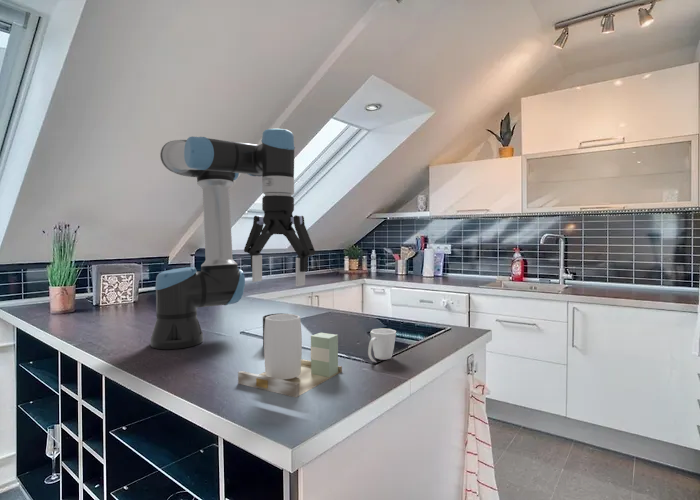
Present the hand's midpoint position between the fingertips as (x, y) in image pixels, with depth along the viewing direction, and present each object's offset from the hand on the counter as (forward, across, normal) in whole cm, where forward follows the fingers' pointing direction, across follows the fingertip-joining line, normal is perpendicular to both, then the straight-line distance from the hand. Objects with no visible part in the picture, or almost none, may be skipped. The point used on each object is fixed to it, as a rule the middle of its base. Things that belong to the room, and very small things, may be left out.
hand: (278, 283), depth 99 cm
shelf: (+22, +7, -3) cm, 23 cm away
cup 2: (+22, +19, +19) cm, 34 cm away
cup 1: (+21, +6, -5) cm, 22 cm away
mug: (+23, -14, +18) cm, 33 cm away
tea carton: (+21, +12, +3) cm, 24 cm away
